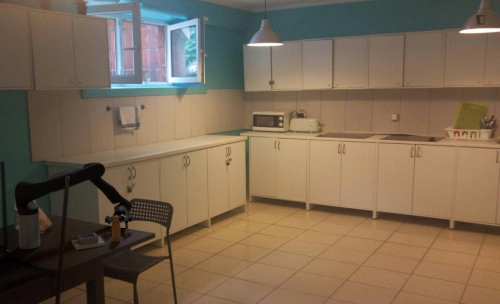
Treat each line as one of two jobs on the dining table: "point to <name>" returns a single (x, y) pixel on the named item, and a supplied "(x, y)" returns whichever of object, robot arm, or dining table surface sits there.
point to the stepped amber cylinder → (116, 229)
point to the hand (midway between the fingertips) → (117, 222)
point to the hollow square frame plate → (88, 241)
